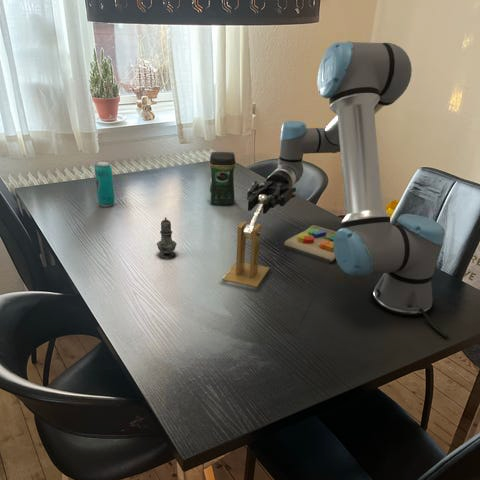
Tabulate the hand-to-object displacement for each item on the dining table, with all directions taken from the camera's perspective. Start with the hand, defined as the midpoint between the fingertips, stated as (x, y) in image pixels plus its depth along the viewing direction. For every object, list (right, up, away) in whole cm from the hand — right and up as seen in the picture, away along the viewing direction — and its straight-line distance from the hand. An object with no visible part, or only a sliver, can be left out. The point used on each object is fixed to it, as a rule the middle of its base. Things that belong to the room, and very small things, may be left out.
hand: (256, 207), depth 135 cm
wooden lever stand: (-3, -19, +6) cm, 20 cm away
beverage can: (-53, +11, +47) cm, 71 cm away
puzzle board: (+21, -7, +26) cm, 34 cm away
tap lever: (0, -3, +3) cm, 4 cm away
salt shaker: (-27, -11, +16) cm, 33 cm away
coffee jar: (-12, +14, +54) cm, 57 cm away
